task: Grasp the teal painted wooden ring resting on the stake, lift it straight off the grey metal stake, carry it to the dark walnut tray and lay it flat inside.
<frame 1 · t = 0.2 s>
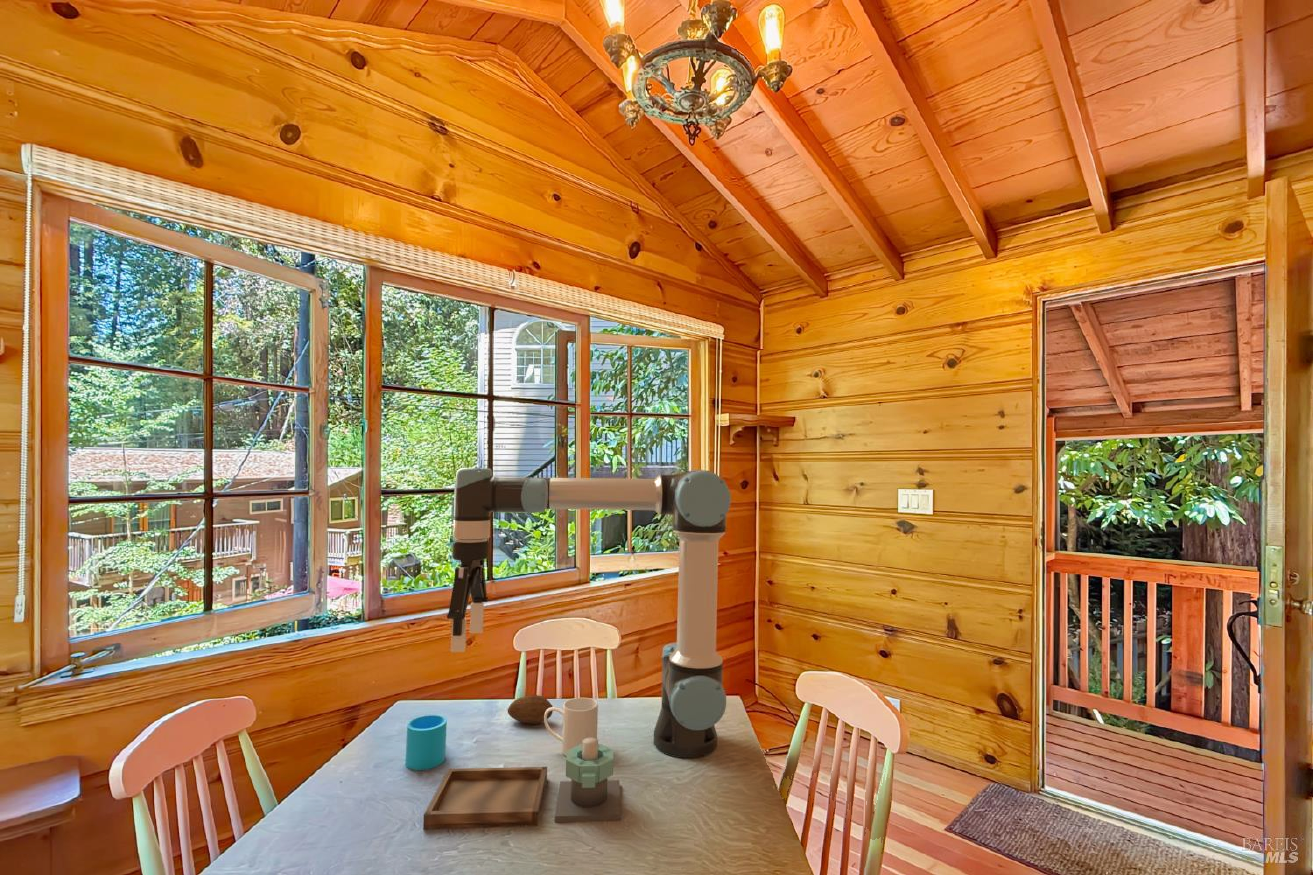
hand: (467, 641, 122), 28 cm above the table, fingers open, 13 cm apart
stake: (588, 802, 112), on the table
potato: (530, 723, 147), on the table
mug 2: (570, 752, 132), on the table
ring: (589, 770, 112), point 6 cm above the table, touching stake
mug: (429, 757, 129), on the table
tray: (489, 802, 111), on the table
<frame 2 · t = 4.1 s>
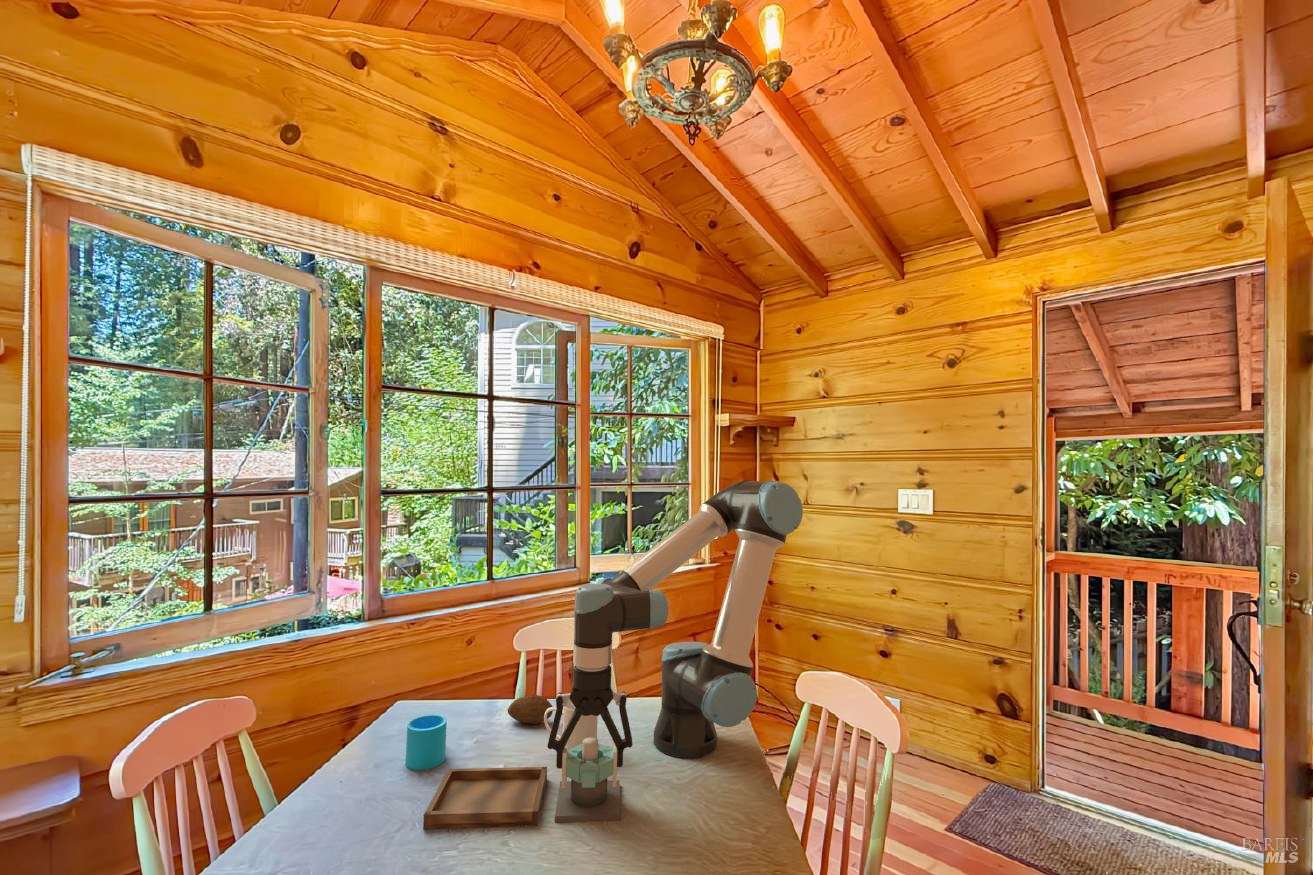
hand: (589, 783, 112), 3 cm above the table, fingers closed on ring, 9 cm apart
ring: (589, 770, 112), point 6 cm above the table, touching gripper, stake
everything else where it was.
when the fingers open (3 cm above the table, at t = 11.2 s): ring drops 5 cm, resting on tray.
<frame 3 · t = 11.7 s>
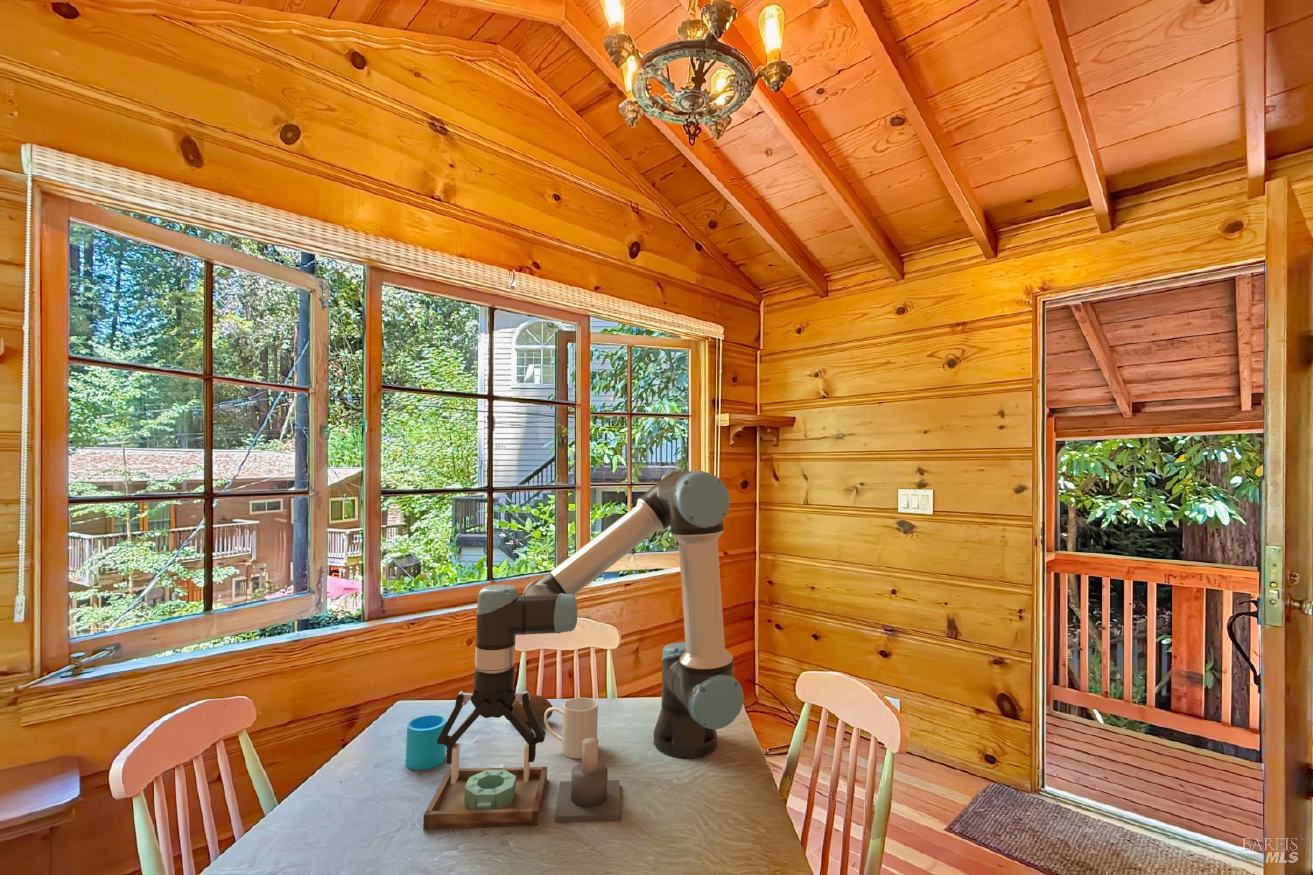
hand: (490, 779, 111), 4 cm above the table, fingers open, 13 cm apart
ring: (490, 797, 111), point 1 cm above the table, touching tray
everything else where it was.
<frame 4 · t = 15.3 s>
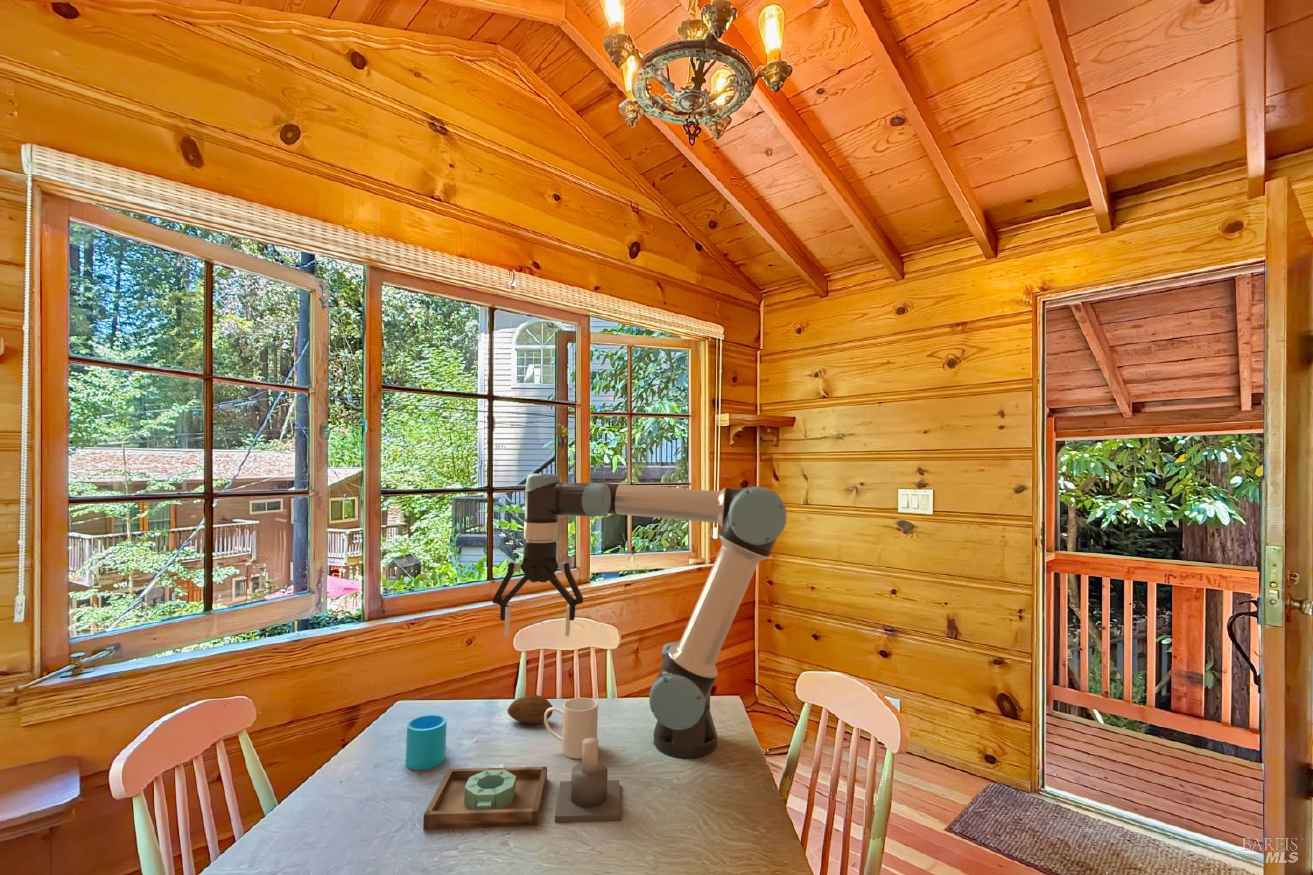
hand: (537, 634, 131), 27 cm above the table, fingers open, 13 cm apart
nothing on the table moved.
at the end: ring inside the target area on the tray (0.0 cm from its centre), point 0.8 cm above the tray's base; ring tilted 0°; the gripper is holding nothing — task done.
